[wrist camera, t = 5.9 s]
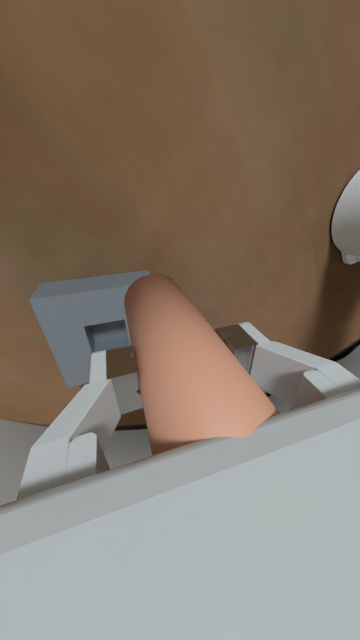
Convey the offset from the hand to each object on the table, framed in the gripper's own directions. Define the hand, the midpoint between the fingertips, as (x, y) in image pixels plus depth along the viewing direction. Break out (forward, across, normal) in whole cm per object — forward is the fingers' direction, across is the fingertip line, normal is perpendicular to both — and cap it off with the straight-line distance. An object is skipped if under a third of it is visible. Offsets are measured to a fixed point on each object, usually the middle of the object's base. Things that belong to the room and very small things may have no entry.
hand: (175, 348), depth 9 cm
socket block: (+23, +4, +11) cm, 26 cm away
